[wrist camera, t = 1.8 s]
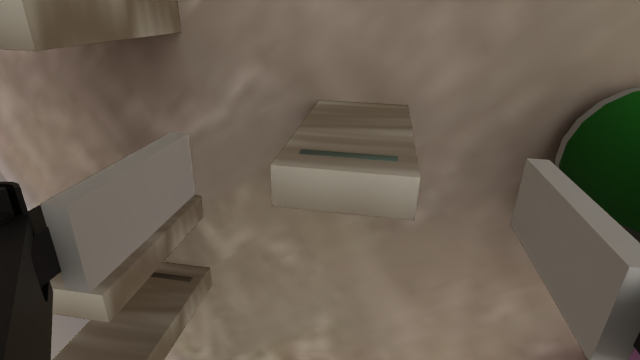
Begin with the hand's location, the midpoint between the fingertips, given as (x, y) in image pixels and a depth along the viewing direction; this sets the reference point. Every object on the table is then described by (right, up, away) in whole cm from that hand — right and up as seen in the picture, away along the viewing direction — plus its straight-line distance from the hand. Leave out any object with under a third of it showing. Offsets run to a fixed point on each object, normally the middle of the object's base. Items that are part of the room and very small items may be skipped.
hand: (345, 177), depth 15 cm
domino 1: (-11, +9, +7) cm, 16 cm away
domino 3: (-12, -7, +14) cm, 20 cm away
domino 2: (-12, -2, +12) cm, 17 cm away
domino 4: (+1, +4, +7) cm, 8 cm away
